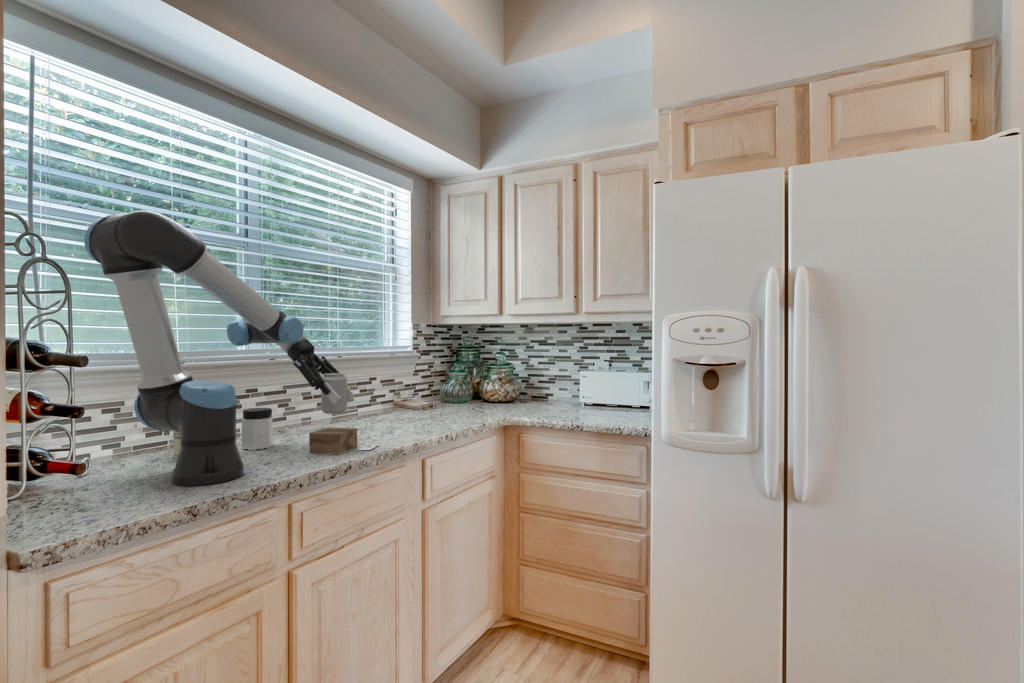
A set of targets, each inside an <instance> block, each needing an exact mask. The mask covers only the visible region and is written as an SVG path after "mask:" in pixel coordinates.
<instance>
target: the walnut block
mask: <svg viewBox="0 0 1024 683" xmlns="http://www.w3.org/2000/svg"><path fill="white" fill-rule="evenodd" d="M308 434H309V436H308V438H309V443H308V444H309V446H308V447H309V448H308V449H309V454H317V453H334V454H333V455H338V454H340V453H343V452H345V451H347V452H349V451H348V450H350V449H352V450H354V449H353V448H355V449H357V448H358V428H356V427H332V426H331V427H330V426H329V427H324V428H322V429H317V430H315V431H312V432H309V433H308ZM356 447H357V448H356ZM350 451H351V450H350ZM345 453H346V452H345ZM343 454H344V453H343ZM340 455H341V454H340Z"/></svg>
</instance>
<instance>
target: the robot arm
mask: <svg viewBox="0 0 1024 683" xmlns="http://www.w3.org/2000/svg"><path fill="white" fill-rule="evenodd" d="M84 234H85V235H84V238H83V239H84V240H83V242H84V246H85V249H86V252H87V254H88V255H89V257H91V258H92V259H93V260H94V261H96V262H97V263H98V264H100V265H101V268H102V272H103V276H105V277H106V278H107V279H110V280H111V281H113V283H114V285H115V288H116V291H117V295H118V299H119V301H120V305H121V308H122V311H123V312H122V313H123V316H124V319H125V323H126V325H127V330H128V332H129V335H130V338H131V342H132V346H133V349H134V352H135V356H136V359H137V364H138V366H139V369H140V373H141V380H140V381H139V382H138V384H137V386H136V387H137V390H138V394H137V397H136V399H134V403H133V404H134V405H133V406H134V407H133V410H134V414H135V416H136V417H137V420H139V421H140V423H141V424H143V425H144V426H146V427H147V428H150V429H152V430H155V431H156V430H157V431H159V432H160V431H161V432H173V433H174V432H181V449H180V453H179V456H178V459H176V462H175V466H174V467H175V468H174V469H172V471H171V472H172V474H171V483H172V484H173V485H176V486H177V485H178V486H187V487H189V486H205V484H207V485H213V483H215V484H219V483H218V482H220V483H224V482H223V481H225V482H228V481H227V480H229V481H232V480H231V479H233V480H235V478H236V479H238V478H240V477H242V476H243V475H244V474H245V465H244V462H243V461H242V458H241V454H240V452H239V448H238V445H237V432H236V431H237V430H236V428H237V397H236V390H235V387H234V386H233V385H232V384H230V383H228V382H224V381H217V380H214V381H213V380H194V379H193V376H192V373H191V372H189V371H187V370H185V369H184V368H183V365H182V361H181V358H180V353H179V351H178V347H177V343H176V340H175V336H174V331H173V329H172V325H171V322H170V318H169V314H168V310H167V307H166V303H165V298H164V295H163V292H162V288H161V284H160V280H159V275H160V274H161V272H162V271H163V270H164V267H166V268H167V269H169V270H170V271H172V272H173V273H174V274H183V275H184V276H186V277H187V278H188V279H189V280H191V281H193V283H196V284H197V285H198V286H199V287H201V288H202V289H203V290H205V291H206V292H208V294H210V295H211V296H213V297H214V298H215V299H216V300H218V301H219V302H221V303H222V304H224V305H225V306H226V307H228V308H229V309H230V310H231V311H233V312H234V313H236V314H237V315H238V316H239V317H241V318H242V319H241V318H238V319H237V320H233V321H231V322H229V324H228V325H227V327H226V334H227V338H228V340H229V342H230V343H231V344H232V345H234V346H236V347H241V346H248V345H251V344H252V345H253V344H277V345H278V346H279V347H280V348H281V350H282V351H284V352H285V354H286V355H287V356H288V357H289V359H290V360H292V362H293V366H294V367H296V368H297V369H298V371H299V372H300V373H301V374H302V376H303V377H304V379H305V380H306V382H308V384H309V385H310V386H311V387H312V388H313V389H314V390H315V391H318V390H320V392H321V391H322V392H323V393H324V394H325V395H326V396H327V398H328V399H329V400H330V401H331V402H332V403H333V404H336V403H337V401H338V400H339V399H340V398H341V397H340V396H339V395H338V394H337V393H336V392H335V391H334V390H333V389H332V387H331V386H330V385H329V384H328V383H327V382H325V383H324V381H323V379H322V378H323V376H322V375H323V374H327V373H340V372H339V370H337V369H336V368H335V367H334V365H333V364H331V363H330V361H328V360H327V358H326V356H324V355H322V356H321V357H319V356H318V355H317V354H316V353H315V346H314V345H313V343H312V342H311V341H310V340H309V339H308V338H307V337H306V336H305V335H304V332H305V331H304V325H303V322H302V320H301V319H299V318H298V317H295V316H291V315H287V314H286V313H285V312H284V311H282V310H281V309H280V307H278V306H277V305H273V304H271V303H270V302H269V301H268V300H267V299H265V298H264V297H263V296H262V295H260V294H259V293H258V292H257V291H256V290H254V289H253V288H252V287H251V286H250V285H248V284H247V282H245V281H244V280H242V278H240V277H239V276H238V275H237V274H235V273H234V272H233V271H231V270H230V269H229V268H228V267H227V266H225V265H224V264H223V263H222V262H221V261H219V260H218V259H217V258H216V257H215V256H214V255H212V254H211V253H210V252H209V251H207V247H208V246H207V245H206V244H205V243H204V242H203V241H202V240H201V239H200V238H199V237H197V236H196V235H195V234H194V233H192V232H191V230H188V229H187V228H186V227H184V226H183V225H181V224H180V223H178V222H176V221H175V220H173V219H172V218H170V217H168V216H166V215H163V214H161V213H159V212H155V211H151V210H135V211H131V212H125V213H119V214H111V215H106V216H104V217H102V218H99V219H96V220H95V221H93V222H92V223H91V224H90V225H89V226H88V228H87V229H86V231H85V233H84ZM355 395H356V394H355V393H354V392H353V391H352V389H350V388H349V386H348V385H347V402H349V401H351V400H352V399H353V398H354V396H355Z"/></svg>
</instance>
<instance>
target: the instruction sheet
mask: <svg viewBox="0 0 1024 683" xmlns="http://www.w3.org/2000/svg"><path fill="white" fill-rule="evenodd" d="M370 445H372V446H378V447H380V444H363V445H362V446H367V447H369V448H371V446H370ZM363 448H364V447H363Z"/></svg>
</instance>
